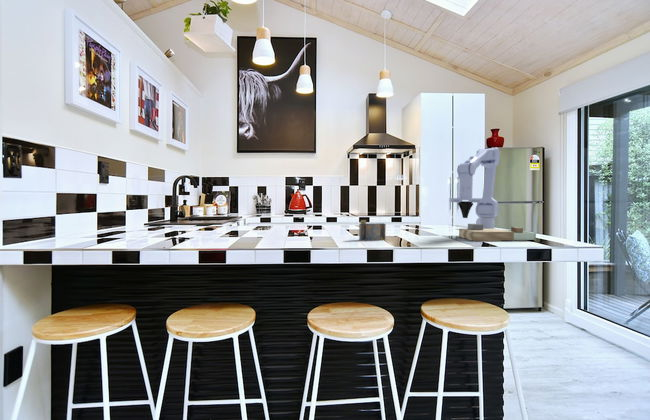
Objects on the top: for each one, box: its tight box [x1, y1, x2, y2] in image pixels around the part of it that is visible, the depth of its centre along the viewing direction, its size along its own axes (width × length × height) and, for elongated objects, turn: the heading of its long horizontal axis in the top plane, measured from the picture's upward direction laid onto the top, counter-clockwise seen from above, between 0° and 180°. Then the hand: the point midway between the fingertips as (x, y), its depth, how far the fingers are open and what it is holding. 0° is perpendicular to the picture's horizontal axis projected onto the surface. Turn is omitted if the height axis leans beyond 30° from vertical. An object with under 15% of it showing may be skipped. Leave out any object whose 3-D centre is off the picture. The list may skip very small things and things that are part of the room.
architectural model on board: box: [358, 219, 386, 241], centre depth 153 cm, size 11×3×10 cm, turn 98°
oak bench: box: [458, 228, 514, 242], centre depth 159 cm, size 15×18×4 cm
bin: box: [505, 229, 537, 242], centre depth 159 cm, size 15×10×4 cm, turn 2°
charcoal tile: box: [467, 223, 483, 230], centre depth 162 cm, size 5×5×2 cm
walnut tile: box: [510, 226, 524, 233], centre depth 155 cm, size 5×5×2 cm
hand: (465, 217), depth 161 cm, fingers closed
